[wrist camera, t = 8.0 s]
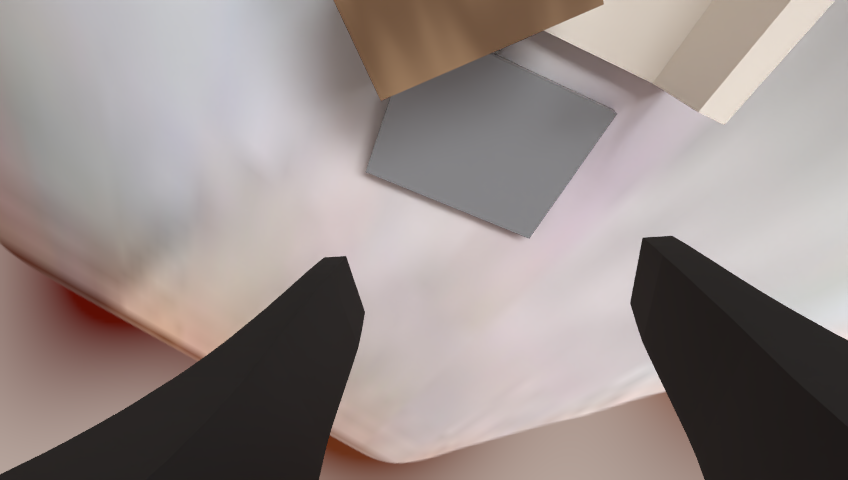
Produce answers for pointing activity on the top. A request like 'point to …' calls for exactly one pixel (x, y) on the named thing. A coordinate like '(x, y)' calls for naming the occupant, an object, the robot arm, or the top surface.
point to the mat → (488, 141)
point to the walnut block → (442, 33)
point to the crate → (695, 44)
